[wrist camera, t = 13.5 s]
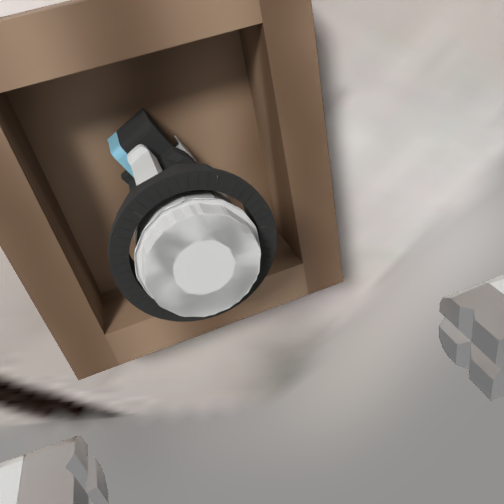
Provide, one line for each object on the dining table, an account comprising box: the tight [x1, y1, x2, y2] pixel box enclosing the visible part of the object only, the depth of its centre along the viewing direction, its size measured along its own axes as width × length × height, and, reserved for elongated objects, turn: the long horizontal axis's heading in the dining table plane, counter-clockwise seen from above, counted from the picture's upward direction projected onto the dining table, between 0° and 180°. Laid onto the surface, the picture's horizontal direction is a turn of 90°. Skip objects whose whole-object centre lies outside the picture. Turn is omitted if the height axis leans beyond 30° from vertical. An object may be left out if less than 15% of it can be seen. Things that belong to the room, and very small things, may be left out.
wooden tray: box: [0, 0, 343, 380], centre depth 21 cm, size 14×15×4 cm
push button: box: [107, 108, 277, 322], centre depth 18 cm, size 7×5×10 cm
